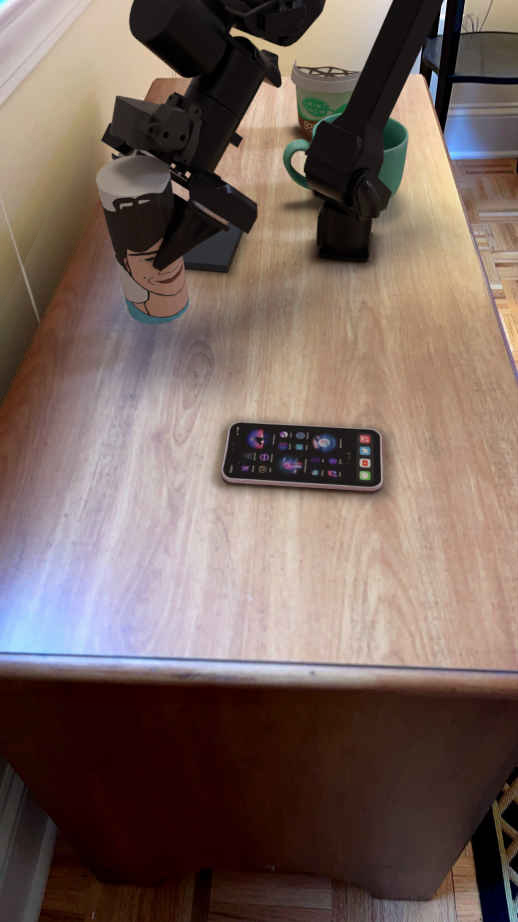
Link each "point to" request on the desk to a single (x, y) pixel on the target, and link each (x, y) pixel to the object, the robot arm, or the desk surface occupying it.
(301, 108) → the food container
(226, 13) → the robot arm
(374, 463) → the smartphone
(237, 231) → the slate mat
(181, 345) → the desk surface
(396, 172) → the mug
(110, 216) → the cup
